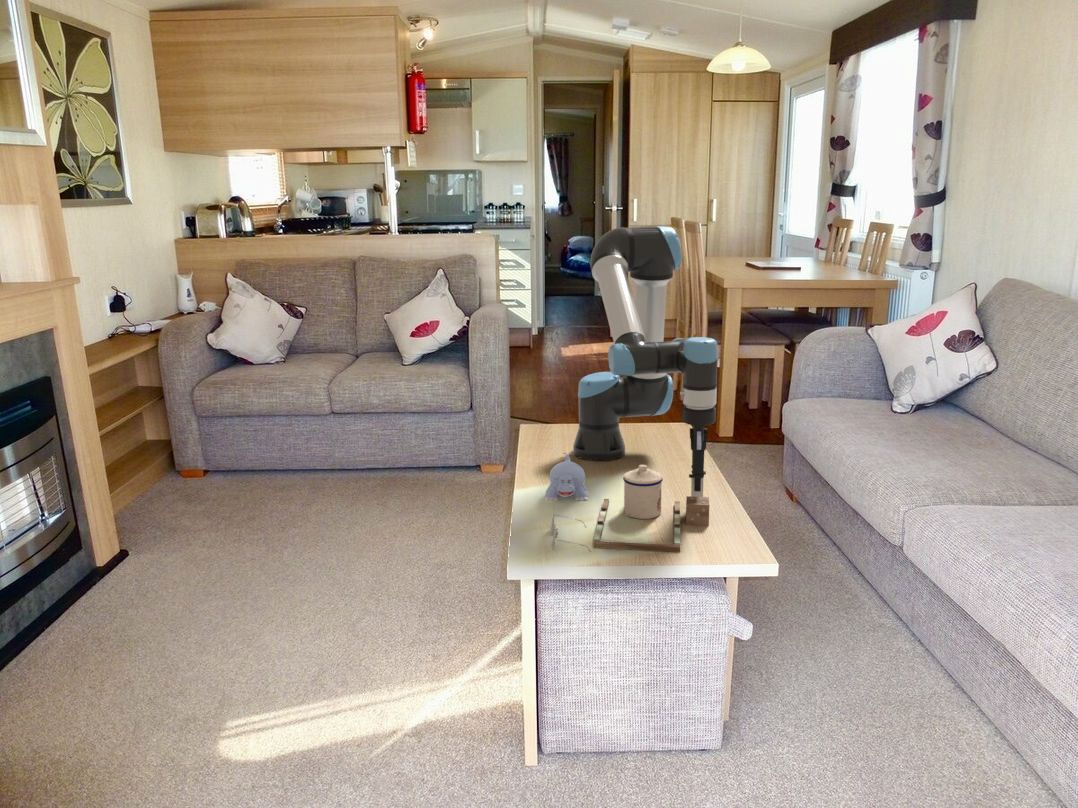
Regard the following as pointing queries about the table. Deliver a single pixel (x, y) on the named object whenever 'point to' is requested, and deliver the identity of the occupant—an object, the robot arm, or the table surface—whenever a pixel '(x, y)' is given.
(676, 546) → the track
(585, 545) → the sunglasses
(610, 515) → the table surface
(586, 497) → the hippopotamus toy
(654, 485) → the teacup with lid
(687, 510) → the die
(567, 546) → the table surface
